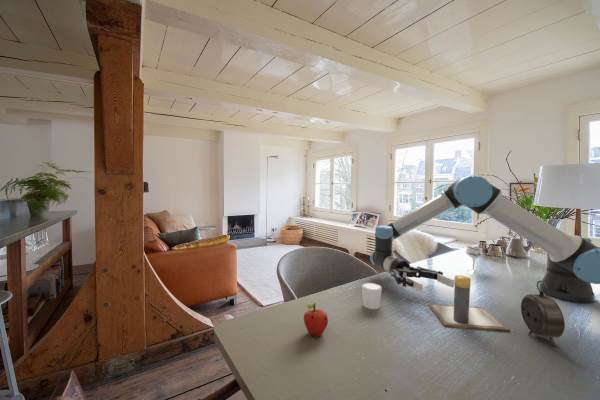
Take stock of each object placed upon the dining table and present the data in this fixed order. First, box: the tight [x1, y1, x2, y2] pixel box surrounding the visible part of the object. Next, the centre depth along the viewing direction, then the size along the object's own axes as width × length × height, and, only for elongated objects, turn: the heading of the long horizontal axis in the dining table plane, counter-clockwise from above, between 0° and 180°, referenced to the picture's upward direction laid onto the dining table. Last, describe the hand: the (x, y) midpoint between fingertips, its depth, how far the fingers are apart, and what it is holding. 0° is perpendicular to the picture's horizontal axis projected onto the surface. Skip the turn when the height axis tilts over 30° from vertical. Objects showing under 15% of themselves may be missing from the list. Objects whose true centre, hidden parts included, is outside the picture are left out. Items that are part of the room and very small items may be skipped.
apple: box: [303, 302, 329, 337], centre depth 74 cm, size 8×7×10 cm
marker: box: [453, 274, 471, 324], centre depth 81 cm, size 4×4×14 cm
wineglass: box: [465, 245, 483, 274], centre depth 129 cm, size 7×7×12 cm
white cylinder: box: [361, 282, 383, 310], centre depth 92 cm, size 7×7×7 cm
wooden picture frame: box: [427, 303, 511, 332], centre depth 85 cm, size 18×14×1 cm
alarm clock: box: [520, 280, 566, 348], centre depth 73 cm, size 11×5×16 cm, turn 168°
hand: (437, 285), depth 90 cm, fingers open, 13 cm apart
